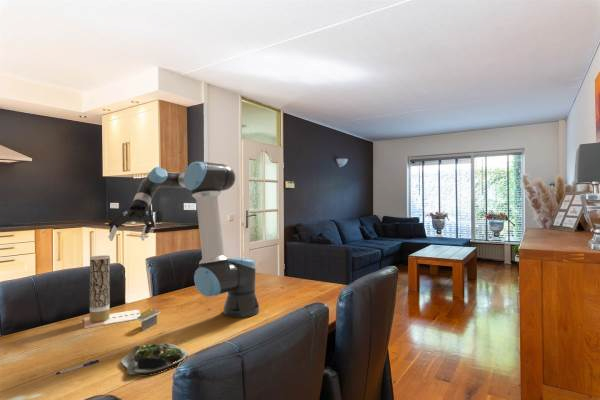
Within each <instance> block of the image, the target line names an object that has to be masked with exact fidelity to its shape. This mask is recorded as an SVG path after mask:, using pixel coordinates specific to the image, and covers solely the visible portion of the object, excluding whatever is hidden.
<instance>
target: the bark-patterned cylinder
mask: <svg viewBox="0 0 600 400" xmlns="http://www.w3.org/2000/svg"><path fill="white" fill-rule="evenodd" d="M110 271H111V257H110V255H95V256H90V257H89V317H90V321H91V322H101V321H105V320H107V319H108V318H109V314H110V306H111V305H110V302H111V301H110V300H111V299H110V298H111V297H110V296H111V295H110V293H111V292H110V290H111V289H110V288H111V286H110V284H111V282H110V280H111V278H110V277H111V275H110V274H111V272H110Z"/></svg>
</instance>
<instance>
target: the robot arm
mask: <svg viewBox="0 0 600 400" xmlns="http://www.w3.org/2000/svg"><path fill="white" fill-rule="evenodd" d="M235 183H236V174H235V172H234V170H233V168H232V167H230V166H229V165H226V164H224V163H215V162H207V161H193V162H191V163H189V165H188V166H187V168H186V169H185V172H168V171H167V170H166V169H165V168H162V167H161V166H157V167H154V168H153V169H151V170H150V171H149V173H148V175H147V176H146V177H145V178H144V179H143V180H142V181H141V182H140V184H139V186H138V189H137V192H136V194H135V196H134V198H133V200H132V202H131V204H130V207H129V209H128V210H127V211H125V210H124V209H122V210H121V211H120V213H118V215H116V216H115V217H114V218H113V219H112V220H111V221H109V222H108V223H107V225H108V226H109V228H110V229H109V235H108V239H109V241H110V242H113V240H114V238H115V237H116V233H117V231H118V228H120V227H121V226H123V225H125V224H126V223H127V222H130V221H135V220H136V221H139V220H140V221H142V222H143V224H144V227H143V229H142V232H141V234H140V236H139V237H140V239H141V241H142V242H143V241H145V239H146V236H147V234H149V233H150V231H151V229H152V228H153V229H154V228H156V223H155V221H154V217H153V215H154V214H153V211H152V209H149V207H150V205H151V202H152V200H153V197H154V196H155V194H156V193H157V191H158V189H160V188H179V189H187V190H189V191H190V192H191V193H190V194H191V197H192V198H194V199H195V201H196V203H195V204H196V209H197V210H196V212H197V221H198V230H199V238H200V248H201V249H200V250H201V258H202V259H200V261H199V262H198V268H197V269H195V271H194V275H193V280H194V281H193V282H194V285H195V287H196V289H197V291H198V292H199V293H200V294H201V295H202V296H204V297H215V296H219V295H222V294H225V293H227V295H226V300H225V303H224V306H223V314H224V315H225V316H226V317H229V318H241V319H242V318H247V317H248V318H249V317H253V316H256V315H257V314H259V312H260V305H259V302H258V298H257V294H256V271H257V269H256V262H255V261H254V259H251V258H242V257H230V258H229V257H227V256H226V255H225V252H224V251H225V250H224V243H223V232H222V225H221V217H220V216H221V215H220V207H219V198H218V197H219V196H220V195H221V193H222V191H227V190H230V189H231V188H232V187H233V186H234V185H235ZM146 215H147V216H148V218H149V221H150V223H149V221H148V220H147V218H146V217H145V216H146Z"/></svg>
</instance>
